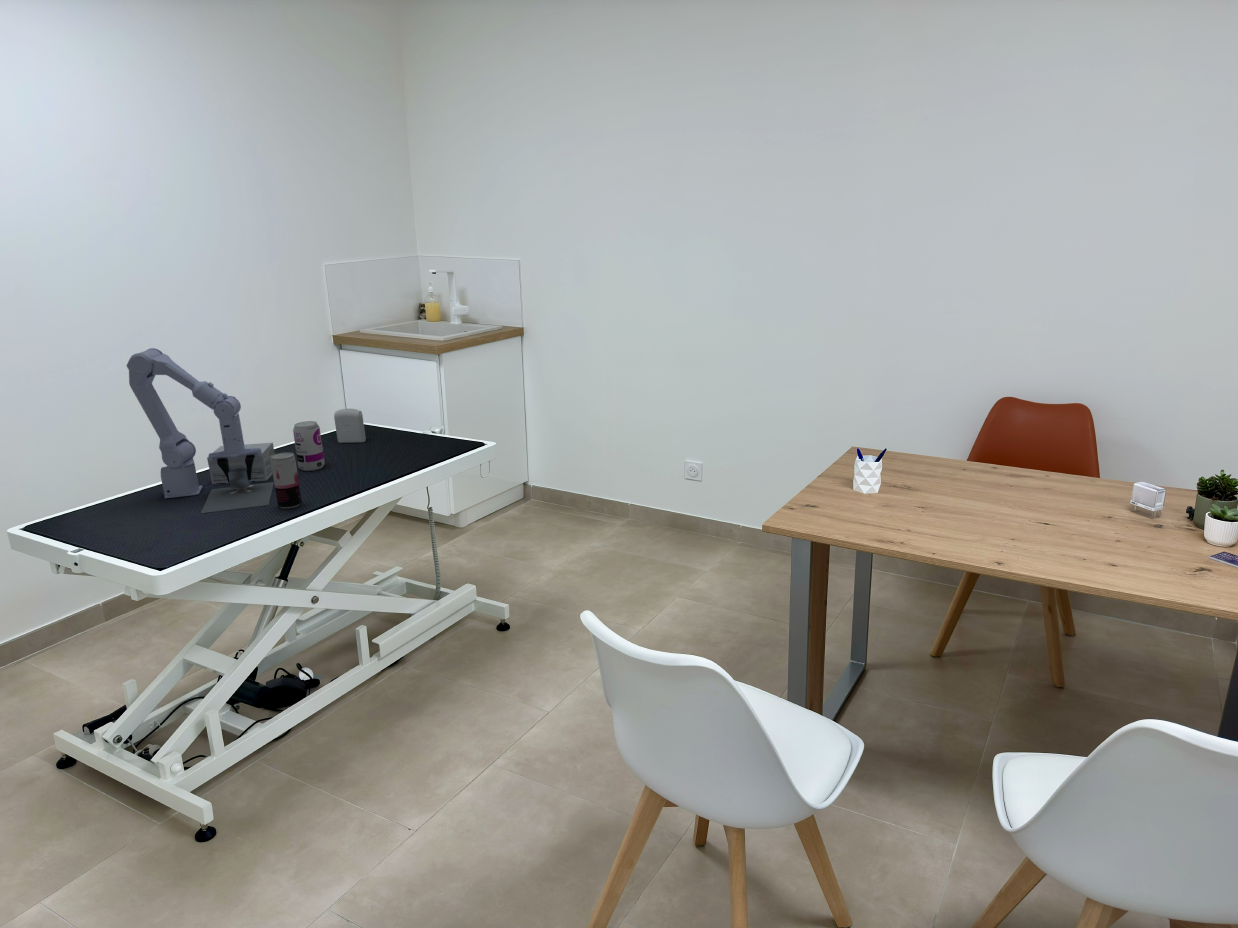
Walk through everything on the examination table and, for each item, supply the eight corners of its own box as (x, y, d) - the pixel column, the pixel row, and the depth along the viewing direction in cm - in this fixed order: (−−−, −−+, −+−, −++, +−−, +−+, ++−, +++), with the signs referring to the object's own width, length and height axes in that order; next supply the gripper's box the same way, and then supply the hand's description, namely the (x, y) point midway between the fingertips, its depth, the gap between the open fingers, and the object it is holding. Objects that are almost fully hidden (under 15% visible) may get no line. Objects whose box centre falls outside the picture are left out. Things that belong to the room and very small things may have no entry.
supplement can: (329, 464, 282) (323, 420, 277) (318, 471, 274) (312, 427, 270) (305, 463, 283) (299, 420, 278) (294, 471, 275) (287, 427, 270)
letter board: (200, 513, 239) (200, 512, 239) (211, 489, 259) (211, 488, 259) (268, 505, 244) (268, 504, 244) (273, 482, 264) (273, 481, 264)
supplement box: (278, 468, 279) (273, 441, 276) (267, 481, 267) (262, 453, 264) (224, 472, 277) (219, 445, 274) (211, 485, 265) (206, 456, 262)
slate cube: (230, 488, 255) (228, 473, 253) (233, 483, 259) (230, 468, 258) (248, 487, 256) (245, 471, 254) (250, 482, 261) (247, 466, 259)
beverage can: (306, 503, 245) (299, 454, 241) (288, 510, 240) (280, 460, 235) (291, 499, 249) (284, 451, 244) (273, 506, 243) (265, 457, 239)
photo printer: (335, 443, 306) (331, 410, 302) (340, 440, 310) (336, 407, 306) (363, 443, 305) (359, 410, 301) (367, 440, 309) (363, 407, 305)
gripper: (204, 443, 248) (212, 487, 252) (257, 438, 252) (264, 481, 256) (207, 437, 254) (215, 480, 258) (259, 432, 258) (266, 474, 262)
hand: (239, 480), depth 257 cm, fingers closed on slate cube, 5 cm apart
